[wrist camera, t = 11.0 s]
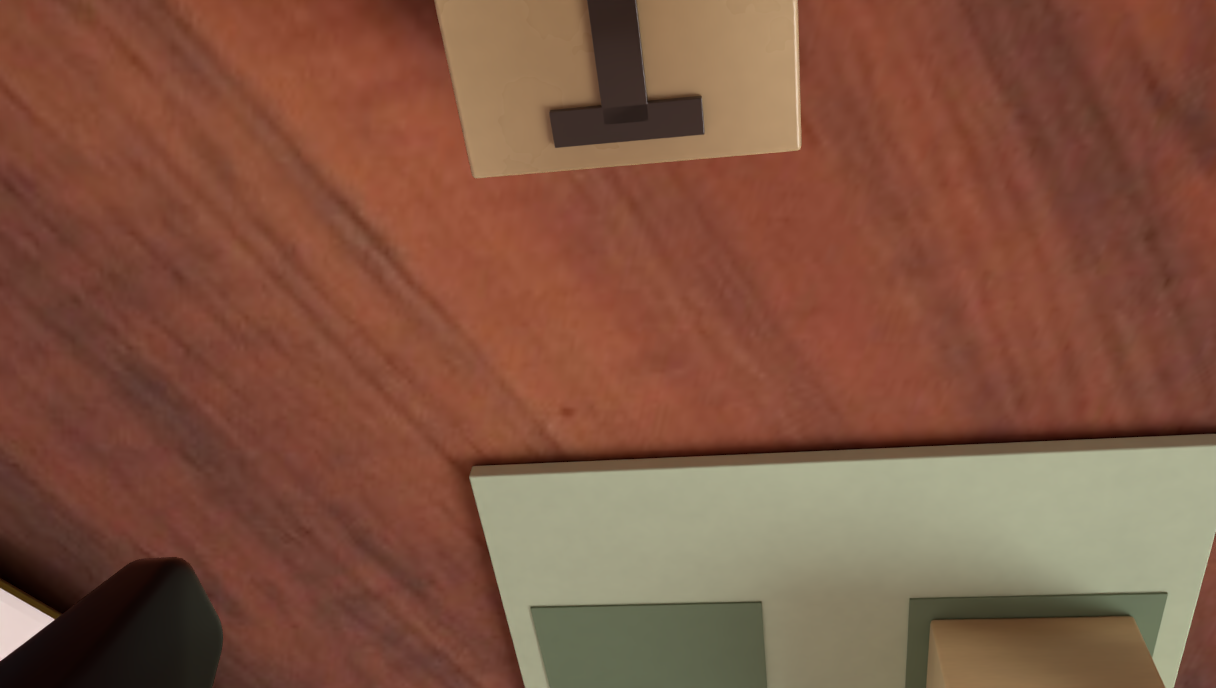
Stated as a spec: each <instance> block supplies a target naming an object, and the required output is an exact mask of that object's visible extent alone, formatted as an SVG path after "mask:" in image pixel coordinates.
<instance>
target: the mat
mask: <svg viewBox="0 0 1216 688" xmlns="http://www.w3.org/2000/svg"><path fill="white" fill-rule="evenodd" d="M469 479H470V482H471V486H472V490H473V494H474V497H475V501H476V505H477V509H478V512H479V516H480V520H481V524H482V528H483V531H484V535H485V539H486V543H487V546H488V550H489V554H490V558H491V561H492V565H493V569H494V573H495V577H496V580H497V584H498V588H499V592H500V595H501V599H502V603H503V607H504V610H505V614H506V618H507V622H508V626H509V629H510V633H511V637H512V641H513V644H514V648H515V652H516V656H517V659H518V663H519V667H520V671H521V675H522V678H523V682H524V686H525V688H926V682H927V666H928V651H929V636H930V623H931V621H932V620H945V619H996V618H1047V617H1098V616H1132V617H1133V618H1134V619H1135V622H1136V624H1137V626H1138V628H1139V630H1140V633H1141V635H1142V637H1143V639H1144V641H1145V644H1146V646H1147V648H1148V650H1149V652H1150V655H1151V657H1152V659H1153V661H1154V663H1155V666H1156V668H1157V670H1158V672H1159V675H1160V677H1161V679H1162V681H1163V683H1164V686H1165V688H1174V684H1175V681H1176V677H1177V673H1178V669H1179V666H1180V662H1181V658H1182V655H1183V651H1184V647H1185V644H1186V640H1187V636H1188V632H1189V629H1190V625H1191V621H1192V618H1193V614H1194V610H1195V606H1196V603H1197V599H1198V595H1199V592H1200V588H1201V584H1202V581H1203V577H1204V573H1205V569H1206V566H1207V562H1208V558H1209V555H1210V551H1211V547H1212V543H1213V540H1214V536H1215V532H1216V434H1196V435H1174V436H1151V437H1128V438H1105V439H1082V440H1059V441H1036V442H1013V443H990V444H967V445H945V446H922V447H899V448H876V449H853V450H830V451H807V452H784V453H761V454H739V455H716V456H693V457H670V458H647V459H624V460H601V461H578V462H555V463H532V464H510V465H487V466H473V467H472V469H471V472H470V476H469Z"/></svg>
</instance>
